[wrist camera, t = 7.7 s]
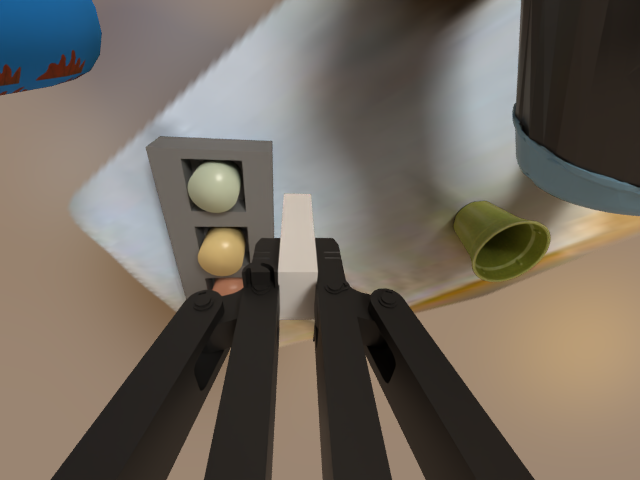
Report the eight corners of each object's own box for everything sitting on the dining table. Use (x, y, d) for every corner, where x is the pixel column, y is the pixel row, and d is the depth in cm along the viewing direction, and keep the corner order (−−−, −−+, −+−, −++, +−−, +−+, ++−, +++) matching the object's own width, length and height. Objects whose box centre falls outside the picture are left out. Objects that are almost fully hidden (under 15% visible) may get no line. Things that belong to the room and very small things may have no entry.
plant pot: (463, 254, 46) (496, 292, 39) (428, 224, 42) (459, 261, 34) (515, 213, 42) (562, 247, 35) (483, 176, 38) (529, 206, 31)
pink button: (213, 267, 40) (207, 287, 37) (249, 267, 41) (247, 286, 37) (217, 293, 43) (212, 313, 39) (251, 292, 43) (249, 312, 40)
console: (160, 136, 31) (145, 147, 27) (272, 141, 32) (271, 152, 29) (197, 295, 44) (190, 315, 41) (275, 292, 46) (274, 312, 42)
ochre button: (202, 223, 34) (194, 242, 31) (244, 223, 35) (240, 242, 32) (208, 256, 37) (201, 276, 34) (247, 255, 38) (244, 275, 35)
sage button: (193, 154, 31) (183, 167, 28) (240, 156, 32) (235, 169, 28) (200, 196, 34) (192, 212, 31) (243, 197, 34) (240, 213, 31)
